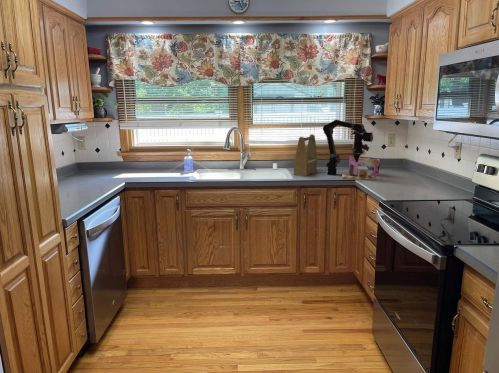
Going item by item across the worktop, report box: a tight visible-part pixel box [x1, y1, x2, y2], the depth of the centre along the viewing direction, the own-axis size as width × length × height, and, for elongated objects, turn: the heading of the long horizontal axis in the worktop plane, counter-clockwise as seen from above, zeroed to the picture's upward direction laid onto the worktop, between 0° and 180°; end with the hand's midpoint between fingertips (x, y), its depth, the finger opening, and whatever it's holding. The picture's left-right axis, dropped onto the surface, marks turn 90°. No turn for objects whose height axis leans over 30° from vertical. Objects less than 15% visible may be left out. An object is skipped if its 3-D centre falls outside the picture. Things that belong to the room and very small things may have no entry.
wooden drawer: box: [348, 164, 366, 177], centre depth 281 cm, size 13×8×8 cm, turn 78°
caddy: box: [293, 134, 318, 177], centre depth 300 cm, size 29×11×30 cm, turn 154°
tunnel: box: [357, 166, 368, 178], centre depth 281 cm, size 7×12×7 cm, turn 167°
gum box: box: [348, 155, 381, 177], centre depth 299 cm, size 24×8×14 cm, turn 47°
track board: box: [341, 173, 374, 181], centre depth 282 cm, size 22×12×2 cm, turn 77°
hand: (356, 161), depth 283 cm, fingers open, 9 cm apart
